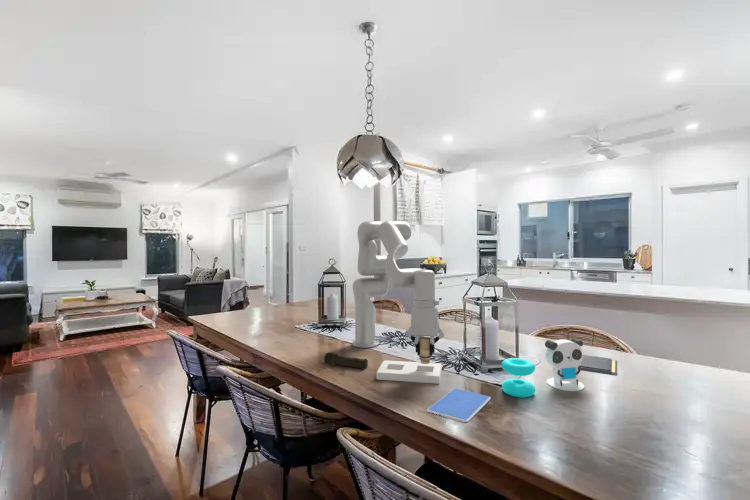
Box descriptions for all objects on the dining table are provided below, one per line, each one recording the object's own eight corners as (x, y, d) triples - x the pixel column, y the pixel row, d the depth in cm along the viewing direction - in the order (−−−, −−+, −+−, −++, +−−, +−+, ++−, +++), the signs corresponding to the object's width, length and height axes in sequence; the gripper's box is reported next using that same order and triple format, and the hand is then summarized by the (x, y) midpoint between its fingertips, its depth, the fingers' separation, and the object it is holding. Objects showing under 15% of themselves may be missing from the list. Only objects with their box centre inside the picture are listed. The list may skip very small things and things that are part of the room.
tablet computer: (467, 425, 102) (467, 420, 102) (425, 413, 109) (425, 408, 109) (491, 400, 117) (491, 396, 117) (453, 391, 125) (453, 387, 125)
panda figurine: (558, 392, 121) (558, 345, 121) (538, 379, 133) (537, 336, 132) (592, 389, 123) (592, 343, 123) (569, 377, 134) (569, 335, 134)
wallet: (576, 352, 160) (619, 358, 152) (576, 356, 160) (619, 362, 152) (569, 365, 144) (617, 372, 135) (569, 370, 144) (617, 377, 135)
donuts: (502, 355, 128) (534, 358, 124) (502, 385, 128) (534, 388, 125) (501, 364, 119) (535, 368, 115) (501, 396, 119) (536, 400, 115)
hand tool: (368, 368, 148) (368, 356, 148) (363, 371, 145) (363, 358, 145) (328, 361, 157) (328, 350, 157) (322, 364, 153) (322, 352, 153)
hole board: (384, 366, 149) (384, 360, 148) (441, 370, 144) (441, 363, 144) (376, 379, 135) (376, 372, 135) (439, 383, 130) (439, 376, 130)
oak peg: (420, 360, 140) (419, 336, 140) (431, 361, 139) (431, 336, 139) (418, 364, 136) (418, 339, 136) (430, 364, 135) (430, 339, 135)
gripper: (448, 302, 139) (448, 352, 140) (403, 302, 143) (403, 350, 143) (447, 306, 132) (448, 358, 132) (399, 305, 136) (400, 356, 136)
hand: (425, 354), depth 138 cm, fingers closed on oak peg, 4 cm apart
